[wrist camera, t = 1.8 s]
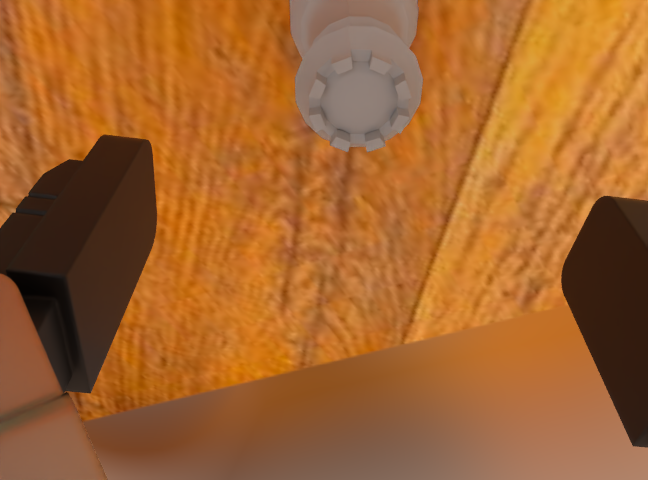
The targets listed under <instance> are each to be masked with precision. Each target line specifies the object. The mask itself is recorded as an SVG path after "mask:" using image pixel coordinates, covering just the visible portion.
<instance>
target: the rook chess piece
mask: <svg viewBox="0 0 648 480" xmlns="http://www.w3.org/2000/svg"><path fill="white" fill-rule="evenodd" d="M418 11H419V8H418V0H290V27H291V35H292V38H293V40H294V42H295V44H296V47H297V49H298V51H299V53H300V56H301V57H302V58H303V59H302V62H301V64H300V67H299V69H298V72H297V74H296V77H295V94H296V103H297V106H298V108H299V110H300V112H301V114H302V116H303V118H304V120H305V123H306V124H307V125H309V126H310V127H311V128H312V129H313V130H314V131H315V132H316V133H317V134H318V135H320V136H321V137H322V138H323V139H326V140H328V141H330V146H333V147H336V148H338V149H341V150H343V151H346V152H348V150H349V147H366V149H367V152H370V151H373V150H376V149H379V148H382V147H384V146H385V141H386V140H389V139H391V138H392V137H393V136H395V135H396V134H397V133H400V134H401V132H402V130H403V129H404V127H406V126H407V125H408V124H409V122H410V121H411V119H412V117H413V115H414V114H415V112H416V110H417V108H418V106H419V105H420V102H421V93H422V84H423V77H422V74H421V71H420V68H419V65H418V62H417V58H416V56H415V55H414V53H413V52H412V51H411V50H410V49H409V47H410V45H411V44H412V42H413V40H414V38H415V36H416V30H417V20H418Z"/></svg>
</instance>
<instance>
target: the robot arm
mask: <svg viewBox="0 0 648 480" xmlns="http://www.w3.org/2000/svg"><path fill="white" fill-rule="evenodd" d="M156 225H157V209H156V195H155V181H154V167H153V154H152V147H151V144H150V142H149V140H146V139H137V138H129V137H121V136H112V135H102V136H101V137H100V138H99V139H98V141H97V142H96V144H95V145H94V146H93V148H92V149H91V151H90V152H89V153H88V155H87V156H86V158H85V159H84V160H83V161H79V160H70V159H69V160H67V161H65V162H64V163H62V164H60V165H58V166H57V167H55V168H53V169H51V170H50V171H48V172H46V173H44V174H43V175H42V177H41V178H40V179H39V180H38V182H37V183H36V184H35V185H34V187H33V188H32V189H31V190H30V192H29V196H28V197H25V198H24V199H23V200H22V202H21V203H20V204H19V205H18V207H17V208H16V213H12V214H11V215H10V217H9V218H8V219H7V220H6V222H5V223H4V224H3V225H2V227H1V228H0V480H108V479H107V477H106V475H105V473H104V470H103V468H102V465H101V463H100V461H99V459H98V456H97V454H96V452H95V450H94V447H93V445H92V443H91V441H90V438H89V436H88V434H87V431H86V429H85V427H84V425H83V422H82V420H81V418H80V415H79V413H78V411H77V409H76V407H75V404H74V402H73V400H72V398H71V397H70V395H69V394H68V393H67V392H66V393H64V392H65V391H71V392H82V393H91V391H92V389H93V386H94V384H95V382H96V379H97V377H98V374H99V372H100V370H101V367H102V365H103V363H104V360H105V358H106V356H107V353H108V351H109V348H110V346H111V344H112V341H113V339H114V337H115V334H116V332H117V329H118V327H119V325H120V322H121V320H122V318H123V315H124V313H125V310H126V308H127V306H128V303H129V301H130V299H131V296H132V294H133V292H134V289H135V287H136V284H137V282H138V280H139V277H140V275H141V273H142V270H143V268H144V265H145V263H146V261H147V258H148V256H149V254H150V251H151V249H152V246H153V243H154V239H155V233H156ZM561 283H562V290H563V293H564V296H565V298H566V300H567V303H568V305H569V307H570V309H571V311H572V313H573V316H574V318H575V320H576V322H577V324H578V327H579V329H580V331H581V333H582V335H583V338H584V340H585V342H586V344H587V346H588V349H589V351H590V353H591V355H592V357H593V360H594V362H595V364H596V366H597V368H598V371H599V373H600V375H601V377H602V379H603V381H604V384H605V386H606V388H607V390H608V393H609V395H610V397H611V399H612V401H613V403H614V406H615V408H616V410H617V412H618V414H619V416H620V419H621V421H622V423H623V425H624V428H625V430H626V432H627V434H628V436H629V439H630V441H631V443H632V445H633V446H639V447H648V201H645V200H637V199H629V198H620V197H612V196H603V197H601V198H599V199H598V200H597V201H596V202H595V204H594V205H593V207H592V209H591V211H590V213H589V215H588V217H587V219H586V221H585V223H584V225H583V227H582V228H581V230H580V232H579V234H578V236H577V238H576V240H575V242H574V244H573V246H572V248H571V250H570V252H569V254H568V256H567V258H566V260H565V262H564V266H563V270H562V278H561Z"/></svg>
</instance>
